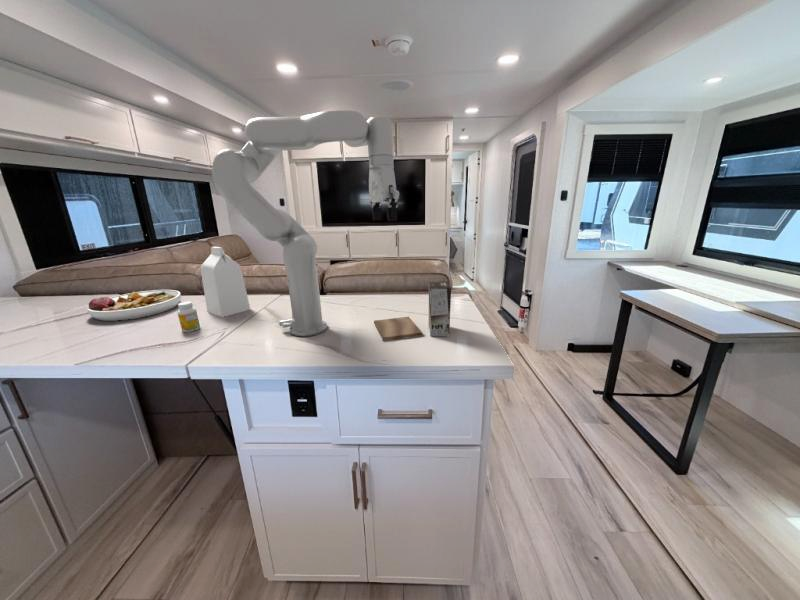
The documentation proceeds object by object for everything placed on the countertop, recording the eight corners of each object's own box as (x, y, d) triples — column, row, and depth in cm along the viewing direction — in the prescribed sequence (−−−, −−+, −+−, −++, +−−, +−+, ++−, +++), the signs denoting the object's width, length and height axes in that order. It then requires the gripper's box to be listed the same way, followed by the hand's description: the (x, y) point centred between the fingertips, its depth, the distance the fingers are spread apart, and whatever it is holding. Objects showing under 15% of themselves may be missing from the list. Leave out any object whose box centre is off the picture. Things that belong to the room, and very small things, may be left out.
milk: (207, 311, 124) (193, 248, 116) (235, 304, 133) (223, 244, 125) (222, 317, 118) (208, 250, 110) (250, 309, 127) (239, 246, 119)
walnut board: (383, 341, 95) (382, 337, 95) (374, 323, 109) (373, 320, 109) (422, 335, 98) (422, 332, 98) (408, 319, 112) (408, 316, 112)
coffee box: (450, 336, 97) (451, 288, 93) (430, 336, 98) (430, 288, 93) (446, 325, 106) (447, 280, 101) (428, 325, 106) (428, 281, 101)
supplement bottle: (180, 329, 107) (173, 303, 104) (197, 325, 111) (191, 299, 108) (184, 333, 103) (177, 306, 100) (202, 328, 107) (196, 302, 104)
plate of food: (177, 295, 149) (173, 280, 146) (188, 310, 127) (184, 292, 125) (92, 310, 129) (86, 293, 127) (89, 330, 108) (81, 310, 106)
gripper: (358, 166, 99) (362, 220, 104) (384, 159, 85) (388, 222, 90) (378, 166, 102) (381, 219, 108) (407, 159, 88) (409, 220, 94)
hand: (384, 220), depth 99 cm, fingers open, 9 cm apart
